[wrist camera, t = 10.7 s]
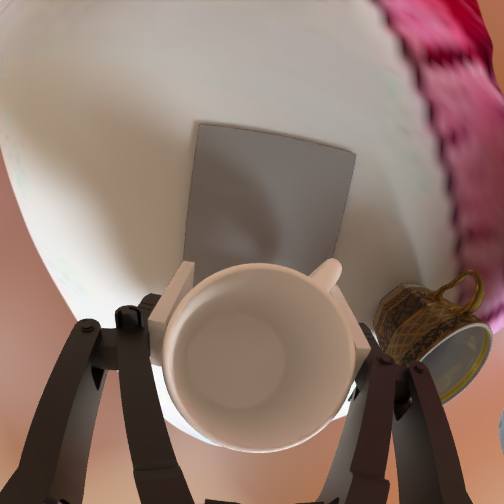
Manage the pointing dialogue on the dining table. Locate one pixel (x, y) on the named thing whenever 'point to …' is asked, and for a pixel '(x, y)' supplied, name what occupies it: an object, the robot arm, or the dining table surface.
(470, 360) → the ceramic cup
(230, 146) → the mat
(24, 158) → the dining table surface
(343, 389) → the cup
